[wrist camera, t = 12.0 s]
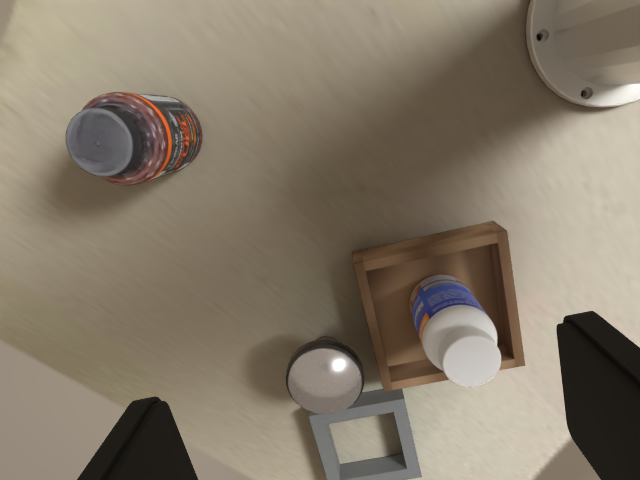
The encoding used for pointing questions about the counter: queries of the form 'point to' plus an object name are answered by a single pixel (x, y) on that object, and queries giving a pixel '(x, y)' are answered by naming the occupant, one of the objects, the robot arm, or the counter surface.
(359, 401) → the socket collar
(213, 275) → the counter surface
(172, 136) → the supplement bottle
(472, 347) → the pill bottle
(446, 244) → the tray
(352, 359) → the metal mushroom knob
